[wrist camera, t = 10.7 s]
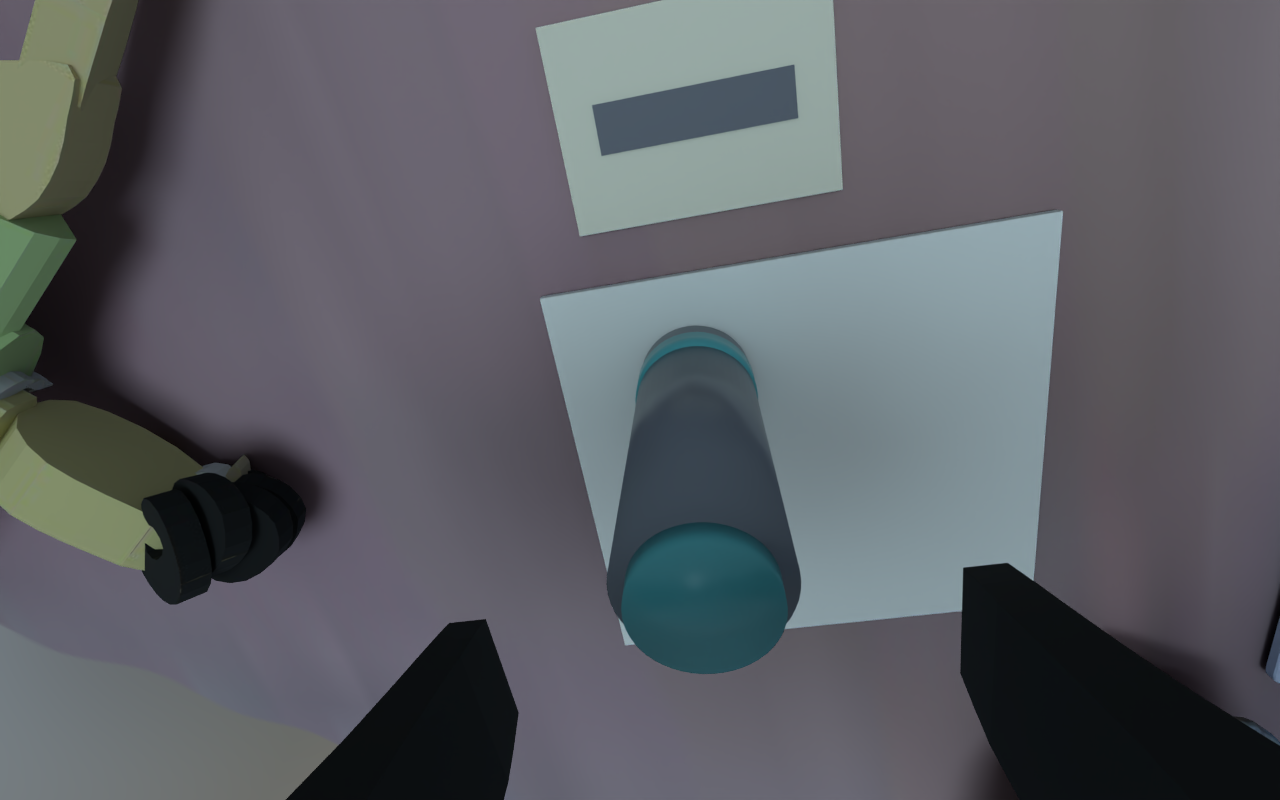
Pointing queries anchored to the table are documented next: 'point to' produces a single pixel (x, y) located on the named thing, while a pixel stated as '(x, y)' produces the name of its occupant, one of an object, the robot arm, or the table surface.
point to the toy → (9, 349)
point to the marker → (701, 513)
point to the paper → (855, 401)
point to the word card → (694, 107)
